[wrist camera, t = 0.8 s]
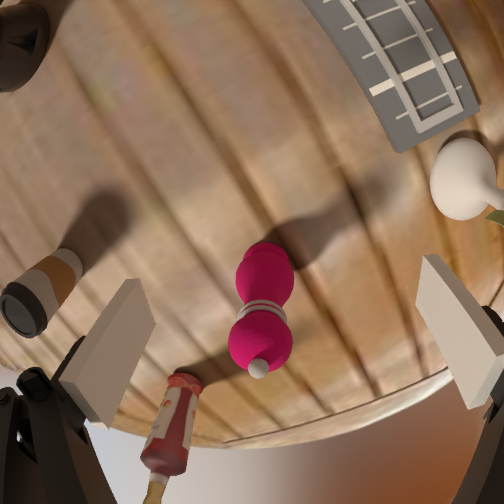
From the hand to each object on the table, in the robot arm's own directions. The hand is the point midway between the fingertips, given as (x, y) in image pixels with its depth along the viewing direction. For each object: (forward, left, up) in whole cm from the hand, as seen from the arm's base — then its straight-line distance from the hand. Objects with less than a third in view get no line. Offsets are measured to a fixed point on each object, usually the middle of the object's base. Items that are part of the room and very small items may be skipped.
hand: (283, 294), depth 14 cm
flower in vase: (+12, +21, -26) cm, 36 cm away
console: (-8, +21, -26) cm, 35 cm away
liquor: (+24, -34, -26) cm, 49 cm away
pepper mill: (+10, -8, -26) cm, 29 cm away
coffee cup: (-6, -36, -26) cm, 45 cm away
